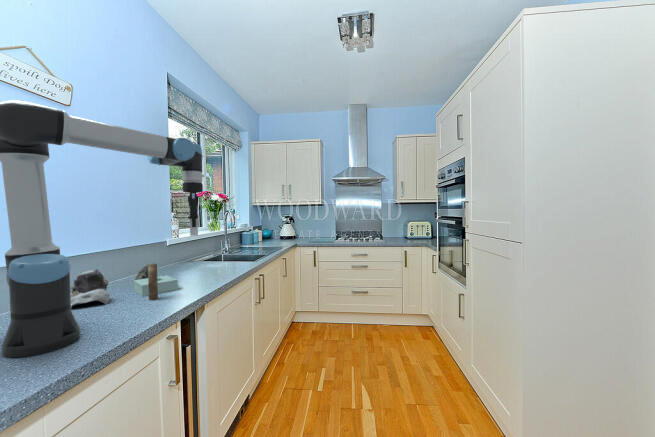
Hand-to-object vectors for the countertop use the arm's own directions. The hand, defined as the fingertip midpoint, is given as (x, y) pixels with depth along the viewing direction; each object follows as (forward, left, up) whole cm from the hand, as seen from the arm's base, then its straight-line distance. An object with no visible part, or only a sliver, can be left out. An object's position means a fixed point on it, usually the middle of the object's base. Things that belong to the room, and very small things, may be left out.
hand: (193, 234), depth 123 cm
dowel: (-13, +9, -26) cm, 30 cm away
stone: (-32, +20, -26) cm, 46 cm away
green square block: (-8, +24, -26) cm, 36 cm away
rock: (-9, +39, -26) cm, 48 cm away
